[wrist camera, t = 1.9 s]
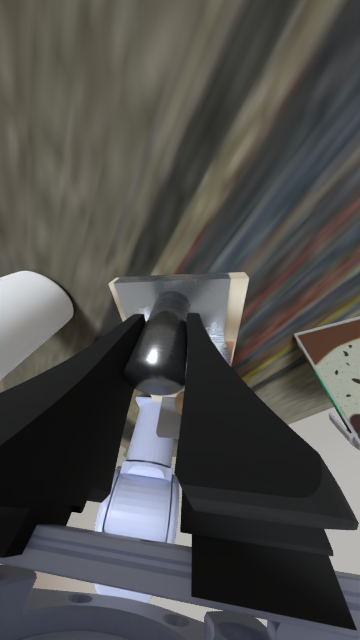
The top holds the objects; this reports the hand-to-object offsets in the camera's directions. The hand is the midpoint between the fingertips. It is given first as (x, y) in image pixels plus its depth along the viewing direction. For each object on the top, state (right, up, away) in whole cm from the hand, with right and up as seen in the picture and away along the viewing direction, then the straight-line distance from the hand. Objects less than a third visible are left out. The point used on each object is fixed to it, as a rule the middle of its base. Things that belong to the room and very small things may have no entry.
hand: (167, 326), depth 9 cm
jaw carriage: (0, +1, +4) cm, 4 cm away
